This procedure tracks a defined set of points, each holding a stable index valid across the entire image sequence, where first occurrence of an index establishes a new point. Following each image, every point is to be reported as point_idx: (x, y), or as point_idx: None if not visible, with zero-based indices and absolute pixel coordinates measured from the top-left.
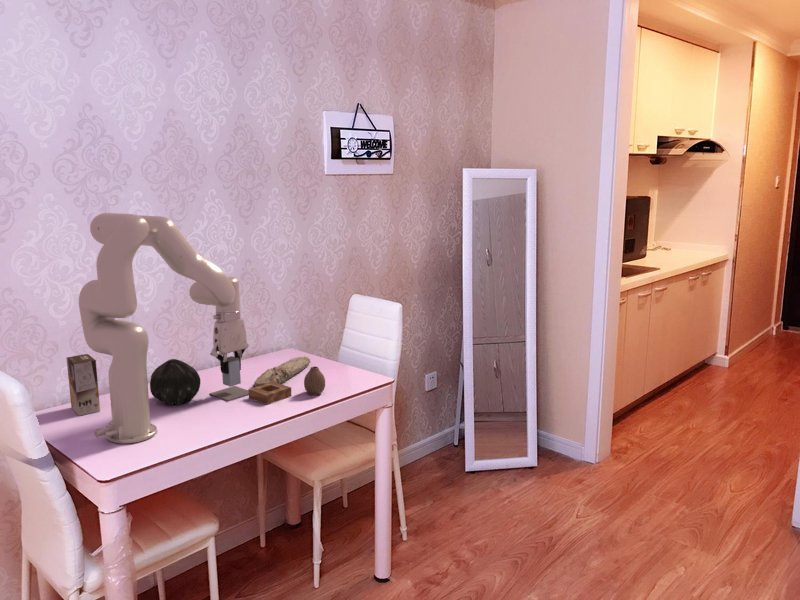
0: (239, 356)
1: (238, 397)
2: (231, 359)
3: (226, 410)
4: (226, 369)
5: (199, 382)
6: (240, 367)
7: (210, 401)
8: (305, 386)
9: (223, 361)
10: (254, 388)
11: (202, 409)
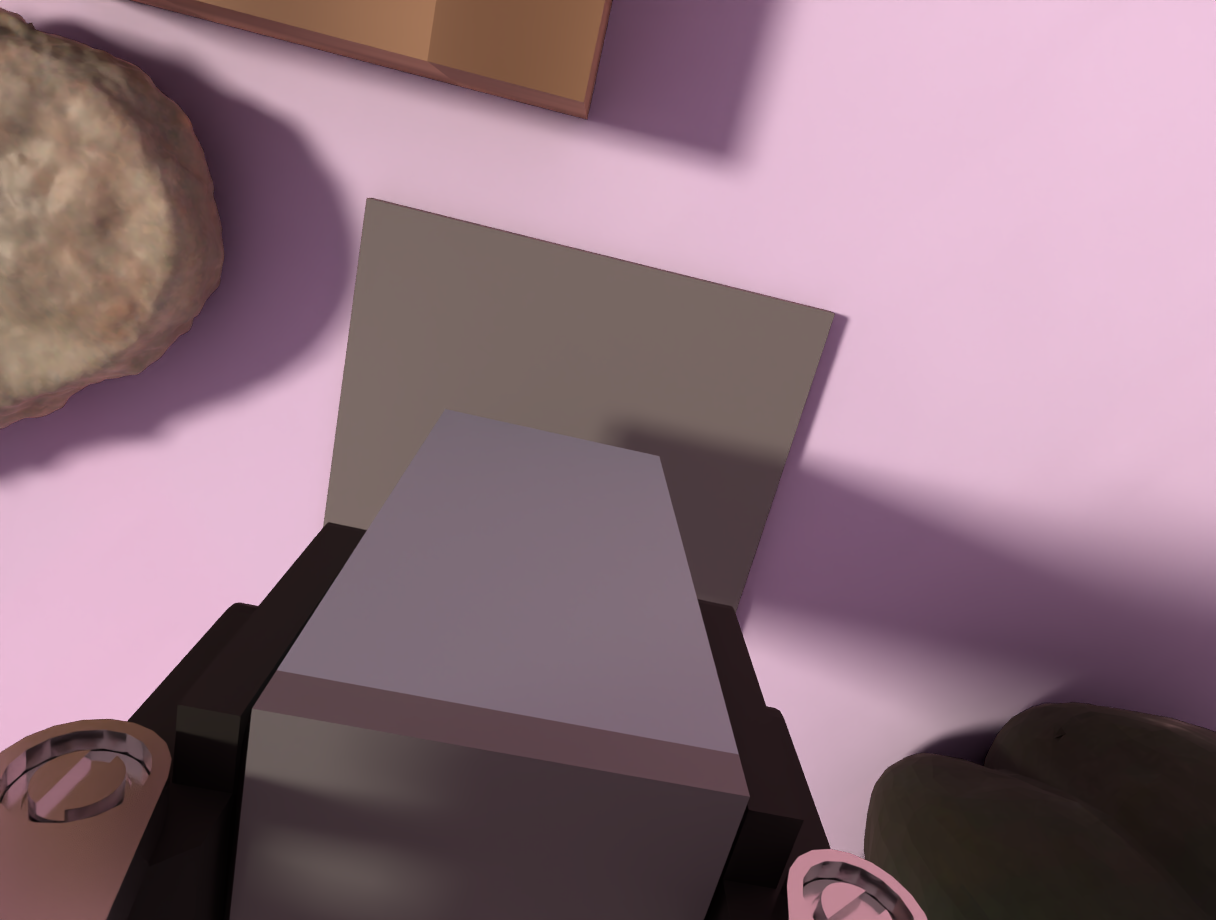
0: (145, 788)
1: (655, 270)
2: (532, 844)
3: (1168, 76)
4: (740, 678)
5: (1009, 840)
6: (316, 547)
7: (909, 523)
8: None
9: (909, 902)
10: (489, 17)
11: (1208, 416)
